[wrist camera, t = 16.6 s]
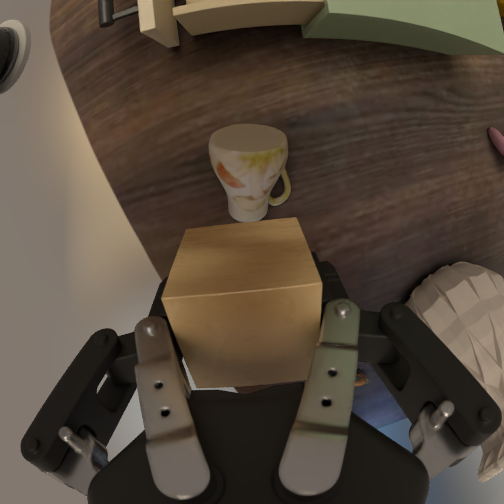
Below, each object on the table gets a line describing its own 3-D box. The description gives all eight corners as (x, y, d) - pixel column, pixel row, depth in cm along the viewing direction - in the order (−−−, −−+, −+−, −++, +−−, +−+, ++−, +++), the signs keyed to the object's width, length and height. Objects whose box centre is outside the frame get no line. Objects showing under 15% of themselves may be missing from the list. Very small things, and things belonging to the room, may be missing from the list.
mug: (218, 219, 33) (184, 209, 23) (234, 138, 33) (208, 100, 23) (284, 230, 32) (276, 223, 22) (298, 146, 31) (295, 106, 21)
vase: (488, 292, 40) (571, 413, 14) (407, 356, 47) (461, 495, 21) (464, 216, 33) (607, 367, 7) (359, 302, 39) (435, 506, 13)
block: (206, 312, 16) (196, 388, 11) (185, 228, 13) (160, 298, 9) (298, 303, 15) (315, 378, 11) (296, 216, 13) (323, 283, 9)
